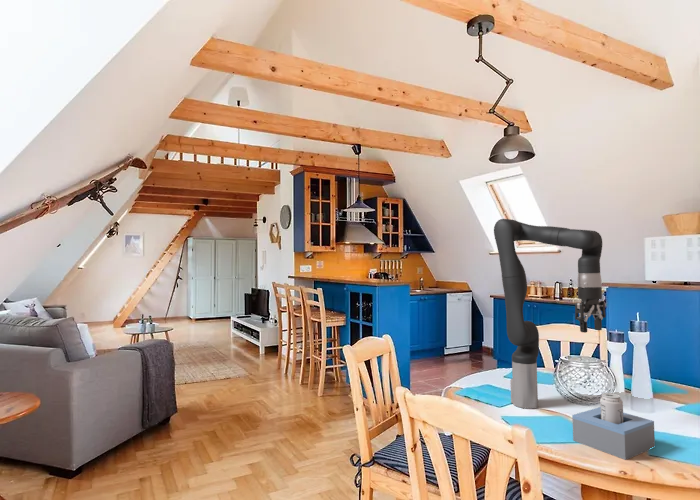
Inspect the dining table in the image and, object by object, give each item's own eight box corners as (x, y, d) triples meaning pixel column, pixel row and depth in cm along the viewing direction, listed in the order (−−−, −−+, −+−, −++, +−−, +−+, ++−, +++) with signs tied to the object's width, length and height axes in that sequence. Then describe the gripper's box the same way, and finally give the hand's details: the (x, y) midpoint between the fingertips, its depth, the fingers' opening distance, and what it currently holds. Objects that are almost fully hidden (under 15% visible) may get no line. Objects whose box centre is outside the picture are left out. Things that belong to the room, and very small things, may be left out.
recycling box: (573, 440, 138) (572, 415, 138) (602, 430, 146) (601, 406, 146) (625, 459, 124) (624, 431, 125) (655, 447, 132) (653, 421, 132)
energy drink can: (622, 449, 131) (620, 399, 131) (600, 444, 135) (598, 395, 135) (626, 443, 136) (624, 394, 136) (604, 438, 139) (602, 391, 140)
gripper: (591, 284, 162) (592, 328, 162) (567, 286, 155) (568, 331, 155) (611, 285, 156) (613, 330, 155) (587, 286, 149) (589, 334, 148)
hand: (591, 331), depth 155 cm, fingers open, 8 cm apart
